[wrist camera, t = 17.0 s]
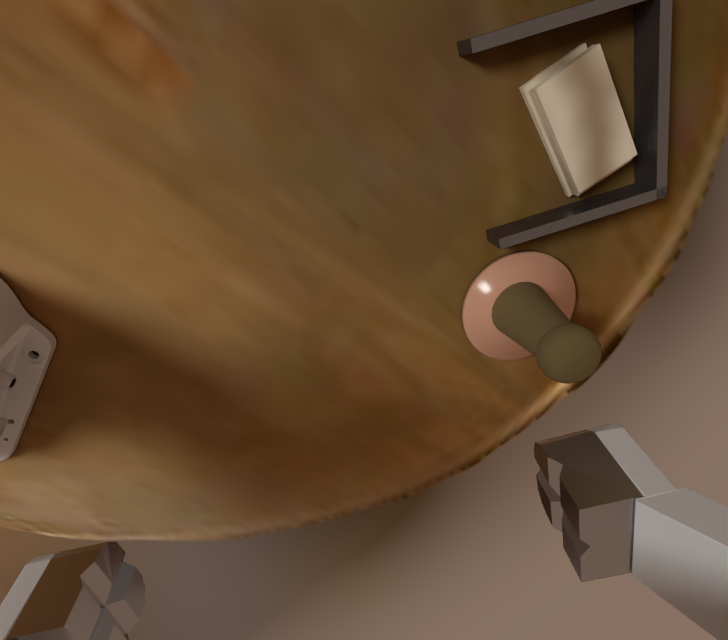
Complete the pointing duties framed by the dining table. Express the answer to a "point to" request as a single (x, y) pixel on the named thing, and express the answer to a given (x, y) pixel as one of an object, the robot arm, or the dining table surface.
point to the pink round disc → (496, 280)
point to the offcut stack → (580, 118)
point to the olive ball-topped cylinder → (546, 333)
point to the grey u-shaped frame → (648, 114)
